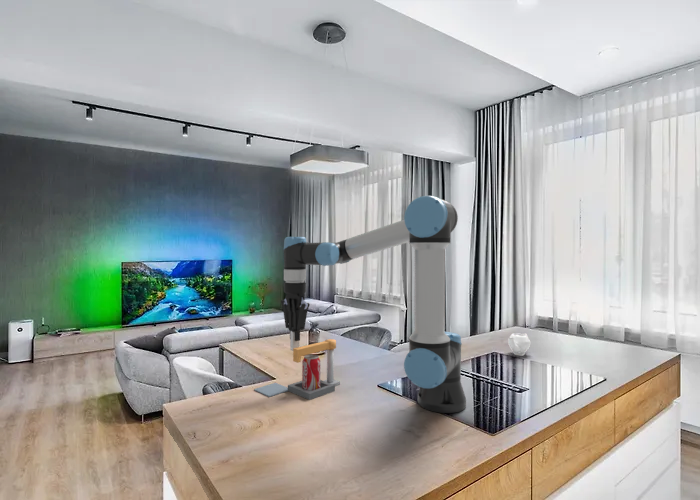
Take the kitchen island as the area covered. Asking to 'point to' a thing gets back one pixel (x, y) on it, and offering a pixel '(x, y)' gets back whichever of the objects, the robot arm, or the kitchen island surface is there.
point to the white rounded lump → (519, 343)
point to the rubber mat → (272, 389)
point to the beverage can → (311, 372)
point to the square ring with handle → (325, 385)
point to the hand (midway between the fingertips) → (294, 349)
